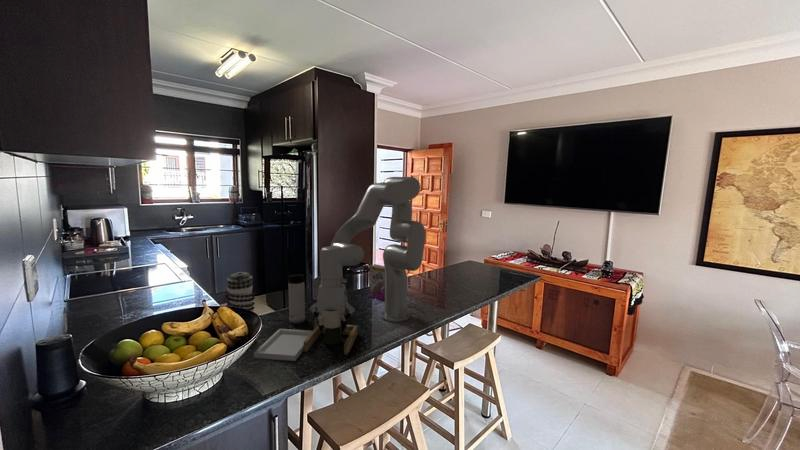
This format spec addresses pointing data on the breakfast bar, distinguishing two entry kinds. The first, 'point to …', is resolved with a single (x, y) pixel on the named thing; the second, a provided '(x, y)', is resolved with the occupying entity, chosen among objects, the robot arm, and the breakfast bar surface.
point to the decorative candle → (240, 291)
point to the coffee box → (316, 289)
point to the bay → (350, 330)
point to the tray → (283, 345)
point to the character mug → (331, 326)
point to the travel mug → (296, 298)
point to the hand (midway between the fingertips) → (332, 329)
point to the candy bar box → (377, 282)
